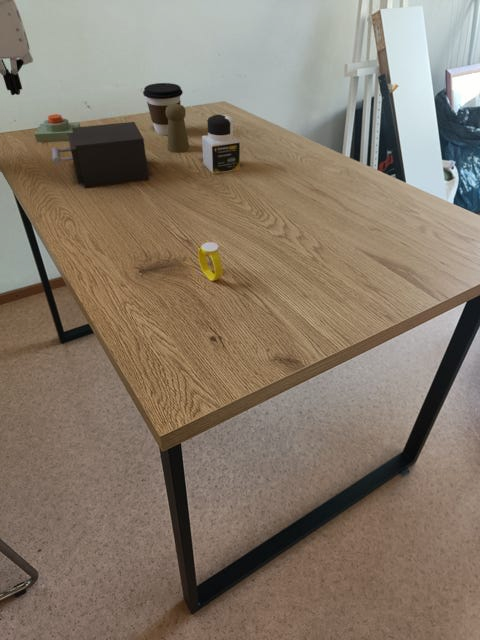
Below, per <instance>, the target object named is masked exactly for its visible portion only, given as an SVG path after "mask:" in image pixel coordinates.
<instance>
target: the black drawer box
mask: <svg viewBox="0 0 480 640" xmlns="http://www.w3.org/2000/svg"><path fill="white" fill-rule="evenodd" d="M72 130H73V135H74V140H75V145H76V149H77V154H78V158H79V162H80V167H81V171H82V176H83V180H84V183H83V184H84V188H85V189H88V188H89V189H90V188H98V187H105V186H112V185H121V184H127V183H128V184H129V183H136V182H143V181H149V180H150V179H149V178H150V177H149V170H148V169H149V168H148V163H147V155H146V147H145V140H144V137H143V135H142V133H141V131H140V129H139V128H138V126H137V124H136V122H135V121H129V122H128V121H127V122H118V123H117V122H116V123H108V124H97V125H87V126H80V127H75V128H72Z"/></svg>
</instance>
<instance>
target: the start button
mask: <svg viewBox="0 0 480 640" xmlns="http://www.w3.org/2000/svg"><path fill="white" fill-rule="evenodd" d="M62 118H63V116H62V114H57V113H55V114H54V113H53V114H50V115H48V116H47V120H49V123H50V124H58V123H62V122H63V121H62Z"/></svg>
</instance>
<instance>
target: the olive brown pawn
mask: <svg viewBox="0 0 480 640" xmlns="http://www.w3.org/2000/svg"><path fill="white" fill-rule="evenodd" d="M186 112H187V111H186V108H185V106H184V105H182V104H181V103H180V104H171V105H168V106H167V107H166V111H165V113H166V117H167V118H168V135H167V148H166V149H167V151H169V152H171V153H185V152H187V151H189V150H190V143H189V142H190V141H189V138H188V137H189V136H188V132H187V127H186V122H185V118H186V114H187V113H186Z"/></svg>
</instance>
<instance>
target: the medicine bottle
mask: <svg viewBox="0 0 480 640" xmlns="http://www.w3.org/2000/svg"><path fill="white" fill-rule="evenodd" d="M201 140H202V141H201V142H202V144H201V145H202V162H203V163H202V164H203V165H204V167H206V168H207V169H208V171H209V172H210V173H211V174H212V175H218V174H224V173H230V172H236V171H240V167H241V165H240V162H241V161H240V159H241V158H240V157H241V155H240V153H241V152H240V151H241V150H240V149H241V148H240V147H241V144H240V143H241V141H240V140H239V139H238V138H236V136H234V119H233V118H232V117H231V116H229V115H227V114H214V115H211V116H209V117H208V118H207V134H206V135H202V136H201Z"/></svg>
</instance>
